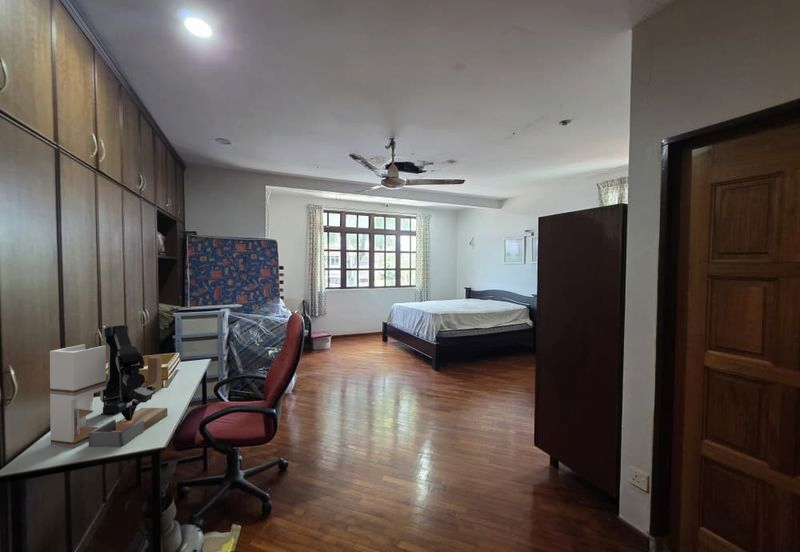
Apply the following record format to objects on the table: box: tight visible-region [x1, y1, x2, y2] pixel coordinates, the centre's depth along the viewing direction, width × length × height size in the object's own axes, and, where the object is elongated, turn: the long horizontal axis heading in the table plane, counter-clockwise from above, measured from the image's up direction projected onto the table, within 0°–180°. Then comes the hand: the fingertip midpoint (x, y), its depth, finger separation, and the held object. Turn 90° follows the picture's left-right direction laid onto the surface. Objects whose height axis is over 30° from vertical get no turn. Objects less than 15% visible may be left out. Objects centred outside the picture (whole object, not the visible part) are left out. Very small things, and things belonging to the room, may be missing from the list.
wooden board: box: [116, 407, 168, 432], centre depth 144 cm, size 11×15×4 cm
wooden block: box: [141, 355, 162, 393], centre depth 180 cm, size 9×4×18 cm, turn 6°
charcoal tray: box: [88, 419, 145, 448], centre depth 131 cm, size 12×11×5 cm
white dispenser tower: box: [49, 343, 107, 449], centre depth 130 cm, size 11×11×35 cm
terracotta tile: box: [116, 420, 134, 431], centre depth 134 cm, size 5×5×2 cm
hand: (129, 421), depth 137 cm, fingers closed
